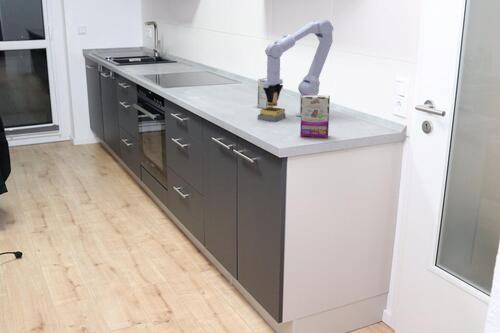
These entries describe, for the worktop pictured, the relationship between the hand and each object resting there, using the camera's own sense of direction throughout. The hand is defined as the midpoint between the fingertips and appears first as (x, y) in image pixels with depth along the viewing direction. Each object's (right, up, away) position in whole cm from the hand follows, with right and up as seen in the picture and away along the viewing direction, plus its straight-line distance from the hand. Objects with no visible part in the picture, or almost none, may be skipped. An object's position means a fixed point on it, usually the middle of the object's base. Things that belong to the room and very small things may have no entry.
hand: (272, 101), depth 256 cm
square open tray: (0, -8, +2) cm, 8 cm away
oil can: (0, -2, +1) cm, 2 cm away
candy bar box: (+16, -17, -28) cm, 37 cm away
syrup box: (-3, 0, +26) cm, 26 cm away
